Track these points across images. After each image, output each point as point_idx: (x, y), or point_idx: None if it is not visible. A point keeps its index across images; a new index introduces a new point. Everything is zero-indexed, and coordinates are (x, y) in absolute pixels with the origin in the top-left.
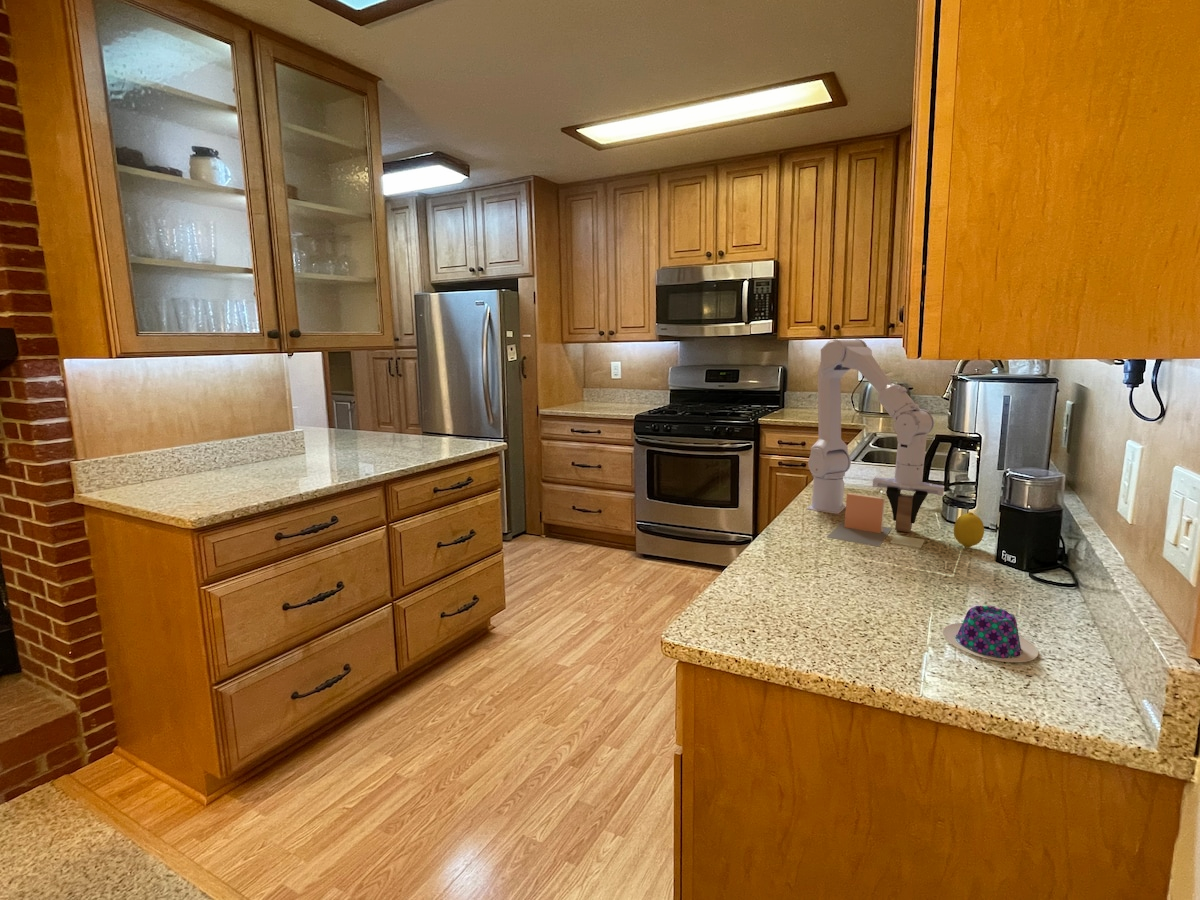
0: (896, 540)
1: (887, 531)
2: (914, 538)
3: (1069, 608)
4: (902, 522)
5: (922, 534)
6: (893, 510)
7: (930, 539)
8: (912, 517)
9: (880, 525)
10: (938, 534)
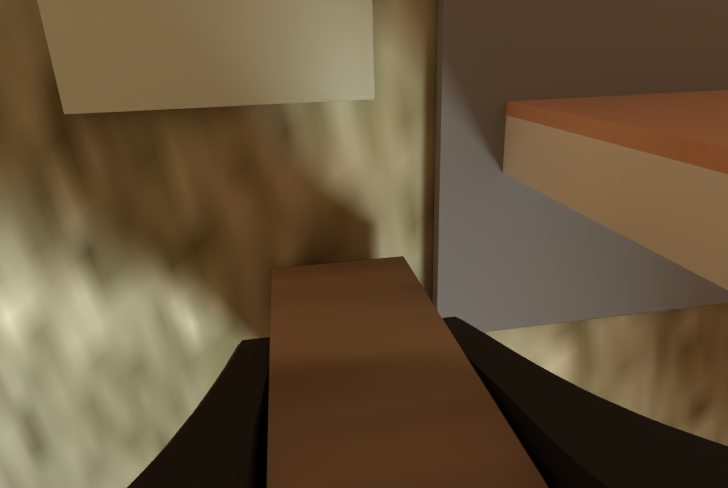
0: None
1: (458, 203)
2: (170, 92)
3: None
4: (357, 303)
5: (184, 364)
6: (521, 364)
7: (70, 261)
8: (252, 368)
9: (558, 107)
10: (74, 449)
